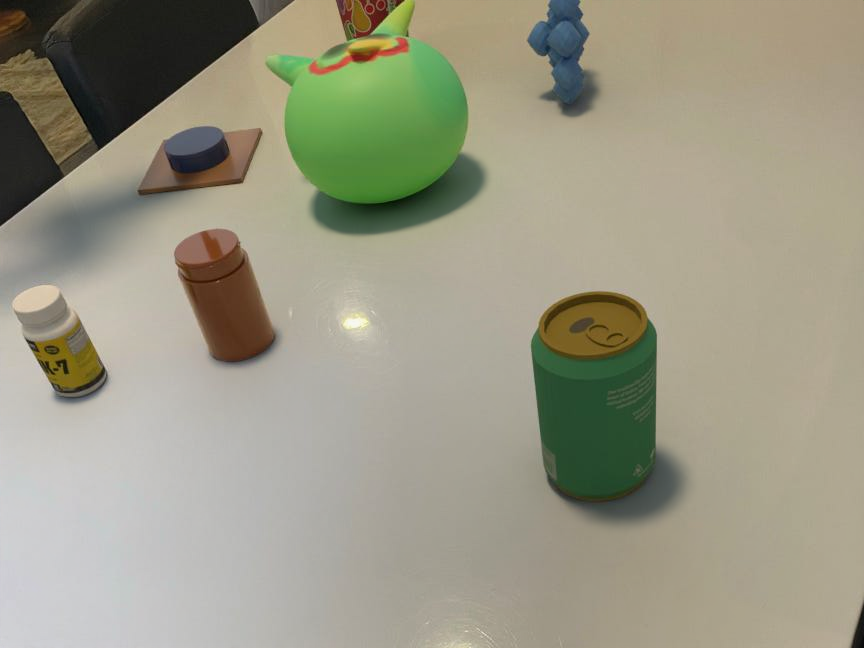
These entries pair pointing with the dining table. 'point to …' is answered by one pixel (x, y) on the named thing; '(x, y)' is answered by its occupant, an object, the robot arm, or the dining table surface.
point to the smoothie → (364, 15)
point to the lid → (196, 149)
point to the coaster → (224, 173)
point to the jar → (224, 294)
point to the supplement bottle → (59, 341)
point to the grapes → (562, 46)
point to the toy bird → (374, 114)
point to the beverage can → (596, 394)
